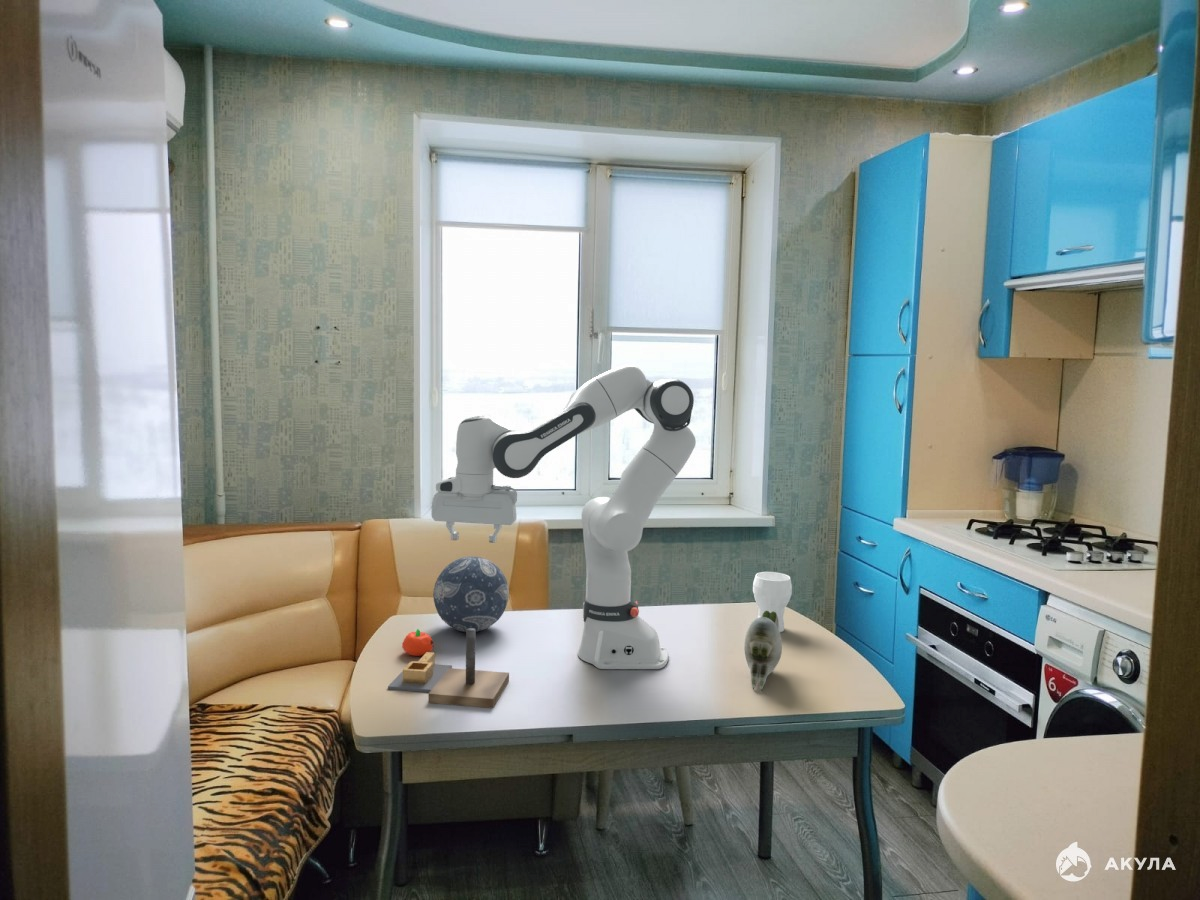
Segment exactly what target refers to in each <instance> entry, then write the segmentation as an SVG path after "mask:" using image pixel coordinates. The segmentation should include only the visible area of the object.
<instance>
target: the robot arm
mask: <svg viewBox="0 0 1200 900" xmlns="http://www.w3.org/2000/svg"><path fill="white" fill-rule="evenodd" d="M694 400H695V399H694V393H693V391H692V389H691V387H689V385H688V384H687V383H685V382H684V381H682V380H679V379H677V378H666V379H665V378H664V379H659V380H656V381H655V380H654V381H650V380H648V379H647V378H646V375H645V374H644V372H643V371H642V370H641V369H640V368H639V367H637V366H636V365H634V364H629V363H628V364H624V365H620V366H618V367H615V368H612V369H610V370H608V371H605V372H603V373H601V374H599V375H598V376H597V375H596V376H595V377H593V378H592V379H589V380H588V381H586V382H585V383H584V384H582V385H581V386H580V387H579V388H577V389H576V390H575V391H574V392H572V394H571V396H570V397H569V401H568V402H567V404H566V406H565V407H564V408H563V410H561V412H559V413H558V414H556V415H555V416H554V417H552V418H550V419H549V420H546V421H545V422H544V423H542V424H540V425H539V426H537V427H535V428H533V429H532V430H530V431H528V432H521V431H518V430H516V429H512V428H509V427H507V426H505V425H503V424H501V423H499V422H497V421H495V419H493V418H492V417H491V416H488V415H477V416H471V417H469V418H465V419H463V420H462V421H461V422H460V423H459V425H458V427H457V431H456V441H455V442H456V443H455V444H456V445H455V455H456V459H457V464H456V465H457V466H456V468H455V476H452V477H448V478H446V479H443V480H440V481H438V482H437V483H436V484H435V490H436V492H435V494H434V495H433V497H432V504H431V512H430V513H431V518H432V519H433V521H434V522H442V523H443V522H445V523H446V525H445V526H446V528H447V531H448V532H449V533H450V541H458V540H459V539H460V536H459V535H460V532H459V531H456V530H455V527H454V525H455V524H456V523H461V524H462V523H466V524H482V525H483V524H484V525H493V529H494V532H493V533H490V534H489V535H488V538H489V539H488V542H489V543H492V544H493V543H497V540H498V534H499V533H500V531H501V529H502V527H503V526H511V525H513V524H514V523H516V521H517V506H516V503H517V501H518V493H517V492H518V491H517V490H516V489H515V488H514V487H512V486H511V485H498V484H497V485H496V484H494V469H496V470H497V471H498V472H499V473H500V474H501V475H503V476H505V477H507V478H511V479H519V478H523V477H525V476H528V475H529V474H530V473H531V472H532V471H533V470H534V469H535V468H536V467H537V465H538V463H539V462H540V460H542V458H543V457H545V455H547V454H549V452H552V451H553V450H554V449H556V448H557V447H559V446H561V445H563V444H564V443H566V442H567V441H570V440H571V439H573V438H575V437H576V436H578V435H579V434H583V433H584V432H588V431H590V430H592V429H594V428H597V427H600V426H602V425H604V424H606V423H609V422H611V421H613V420H614V419H616V418H618V417H620V416H621V415H622V414H625V413H626V412H629V411H630V410H635V411H636V412H637V413H638V414H639V415H640V416H641V417H642V418H643V419H644V420H645V421H646V422H648V423H650V424H653V430H652V434H651V436H650V437H649V438H648V440H647V441H646V442H645V443H644V445H643V446H642V447H641V448H640V449H639V451H638V452H637V453H636V455H635V456H634V457H632V459H631V461H630V462H629V464H627V466H626V467H625V469H624V470H623V471H622V472H621V476H620V479H619V482H618V484H617V486H616V488H615V489H614V491H613V493H612V495H611V497H610V496H609V497H608V496H597V497H594V498H592V499H590V500H588V501H587V502H586V503H585V505H584V506H583V508H582V511H581V521H582V532H583V533H582V534H583V546H584V556H585V566H586V575H585V576H586V577H585V579H586V580H585V582H586V583H585V585H586V586H585V598H584V600H583V605H582V606H583V608H582V618H583V629H582V630H583V631H582V636H581V641H580V645H579V648H578V650H577V651H578V652H577V656H578V657H579V658H580V659H581V660H582V661H584V662H586V663H588V664H591V665H593V666H595V667H596V668H597V669H600V670H660V669H662V668H664V667H665V666H666V665H667V663H668V662H669V652H668V650H667V648H666V647H664V646H662V645H661V644H660V638H659V635H658V632H657V630H656V629H655V628H654V627H653V626H652V625H650V624H649V623H648V622H647V621H645V619H643V618H642V617H640V616H639V613H640V609H639V604H638V601H637V600H636V601H634V600H632V599H631V589H632V588H631V586H632V584H631V583H632V568H631V564H630V560H629V554H628V552H629V551H632V550H633V549H635V548H636V547H637V546H638V545H639V544H640V541H641V540H642V536H643V530H644V527H645V526H646V524H647V521H648V520H649V517H650V516H651V514H652V511H654V510H653V509H654V508H655V506H656V504H657V502H658V501H659V500H660V498H661V497H662V496H663V494H664V492H665V491H666V490H667V489H668V488H669V486H670V485H671V484H672V483H673V481H674V480H675V479H676V477H677V476H678V475H679V473H680V472H681V471H682V469H683V468H684V467H685V465H686V463H687V462H688V460H689V459H690V457H691V455H692V453H693V451H694V449H695V446H696V441H697V440H696V436H695V434H694V433H693V431H692V430H691V429H690V428H689V427H688V426H689V425H690V423H691V418H692V411H693V407H694Z"/></svg>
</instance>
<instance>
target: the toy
mask: <svg viewBox="0 0 1200 900" xmlns="http://www.w3.org/2000/svg"><path fill="white" fill-rule="evenodd" d="M778 625H779V624H778V617H777V614H776V613H775V612H774V611H773V612H771V613H770V612H769V611H765V612H764V613H763V614H762V616H761V617H759V618H758V617H757V618H755V619H754V620H753V621H752V622H751V623H750V624H749V626H748V628H747V630H746V633H745V637H744V648H743V650H744V657H745V660H746V664H747V666H748V668H749V671H750V682H751V683H750V684H751V686H752V690H755V688H756V685H757V683H758V684H759V688H760V692H762V691H763V688H764V687H765V684H766V680H767V678H768V677H769V675H771V674H772V672H773V671H774V670H775V669H776V667H778V666H777V665H778V664H779V662H780V660H781V657H782V650H783V649H782V647H783V644H782V643H783V642H782V637H781V632H779V630H778Z"/></svg>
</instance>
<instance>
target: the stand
mask: <svg viewBox="0 0 1200 900" xmlns="http://www.w3.org/2000/svg"><path fill="white" fill-rule="evenodd" d="M475 631H476V630H475V629H474V628H469V629H466V632H465V634H466V635H465V668H453V667H452V668H449V669H448V670H447V672H446V673H445V674H444V675H443V677H442V678H441V679H440V680H439V681H438V683H437V684H436V685H435V686H434V688H433V689H432V690H431V691H430V692H428V704H442V705H451V706H452V705H453V706H462V707H463V706H464V707H465V706H466V707H475V708H476V707H477V708H489V709H493V708H495V706H496V704H497V703H498V700H499V699H500V697H501V695H502V694H503V692H504V690H505V689H506V687H507V685H508V684H509V682H510V672H504V671H493V670H490V671H489V670H481V669H479V670H478V669H476V632H475Z"/></svg>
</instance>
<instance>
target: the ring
mask: <svg viewBox="0 0 1200 900" xmlns="http://www.w3.org/2000/svg"><path fill="white" fill-rule="evenodd" d="M435 664H436V653H435V652H434V651H433V652H432V651H430V652H426V653H425V654H424V655H422V657H421V658H420V659H419V660H418V661H415V660H413V661H412V660H411V661H410V662H409V663H408V664H407V665H406V666H405V667H404V668H403V669H402V671H403V683H410V684H423V685H425V684H426V683H427V682H428V681H429V680H430V678H431V677H432V676H433V666H434V665H435Z"/></svg>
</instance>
